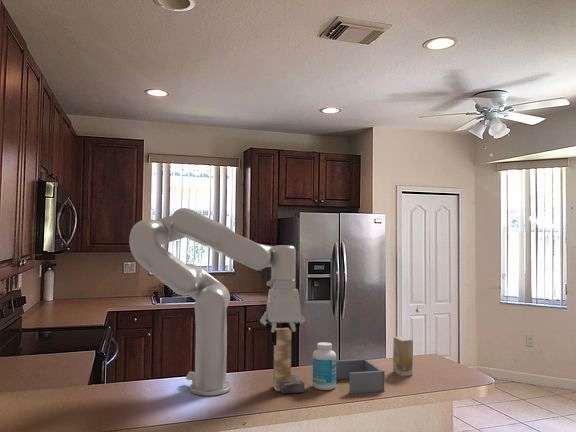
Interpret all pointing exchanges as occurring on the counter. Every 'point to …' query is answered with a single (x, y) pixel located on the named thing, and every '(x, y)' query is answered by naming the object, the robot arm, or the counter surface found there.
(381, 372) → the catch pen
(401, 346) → the skincare box
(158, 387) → the counter surface
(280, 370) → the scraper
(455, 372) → the counter surface
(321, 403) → the counter surface
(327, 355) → the pill bottle
